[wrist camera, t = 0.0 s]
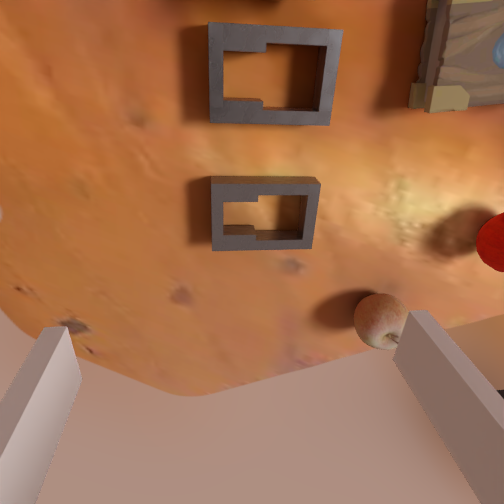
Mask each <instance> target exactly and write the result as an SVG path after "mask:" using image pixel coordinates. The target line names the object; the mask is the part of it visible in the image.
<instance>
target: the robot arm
mask: <svg viewBox="0 0 504 504" xmlns="http://www.w3.org/2000/svg"><path fill="white" fill-rule="evenodd" d="M393 361H394V362H395V364H396V366H397V367H398V369H399V370H400V372H401V374H402V375H403V377H404V379H405V380H406V382H407V384H408V385H409V387H410V388H411V390H412V391H413V393H414V395H415V397H416V398H417V400H418V401H419V403H420V405H421V406H422V408H423V410H424V411H425V413H426V415H427V416H428V418H429V419H430V421H431V423H432V424H433V426H434V428H435V429H436V431H437V432H438V434H439V436H440V437H441V439H442V441H443V442H444V444H445V446H446V447H447V449H448V451H449V452H450V454H451V455H452V457H453V459H454V460H455V462H456V463H457V465H458V467H459V468H460V470H461V472H462V473H463V475H464V476H465V478H466V480H467V482H468V483H469V485H470V486H471V488H472V490H473V491H474V493H475V495H476V496H477V498H478V500H479V501H480V503H481V504H504V390H495V388H494V387H493V386H492V385H491V384H490V383H489V382H488V380H487V379H486V378H485V377H484V376H483V375H482V373H481V372H480V371H479V370H478V369H477V368H476V366H475V365H474V364H473V363H472V362H471V361H470V360H469V358H468V357H467V356H466V355H465V354H464V353H463V351H462V350H461V349H460V348H459V347H458V346H457V344H456V343H455V342H454V341H453V340H452V339H451V338H450V336H449V335H448V334H447V333H446V332H445V331H444V329H443V328H442V327H441V326H440V325H439V324H438V322H437V321H436V320H435V319H434V318H433V317H432V315H431V314H430V313H429V312H428V311H427V310H417V311H409V313H408V316H407V319H406V322H405V325H404V328H403V331H402V334H401V337H400V340H399V343H398V346H397V348H396V351H395V354H394V357H393ZM81 381H82V376H81V373H80V369H79V366H78V362H77V359H76V356H75V352H74V349H73V345H72V342H71V339H70V335H69V332H68V328H67V326H64V327H44V329H43V330H42V332H41V334H40V335H39V337H38V339H37V341H36V342H35V344H34V346H33V348H32V349H31V351H30V353H29V354H28V356H27V358H26V359H25V361H24V363H23V365H22V366H21V368H20V369H19V371H18V373H17V375H16V377H15V378H14V380H13V381H12V383H11V385H10V387H9V388H8V390H7V392H6V394H5V395H4V397H3V398H2V400H1V402H0V504H35V503H36V501H37V498H38V495H39V493H40V490H41V487H42V485H43V482H44V479H45V477H46V474H47V472H48V469H49V466H50V464H51V461H52V458H53V456H54V452H55V450H56V448H57V445H58V442H59V439H60V437H61V434H62V432H63V429H64V426H65V424H66V421H67V418H68V416H69V413H70V410H71V408H72V405H73V403H74V400H75V397H76V395H77V392H78V389H79V386H80V384H81Z"/></svg>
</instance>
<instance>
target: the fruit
mask: <svg viewBox="0 0 504 504" xmlns="http://www.w3.org/2000/svg"><path fill="white" fill-rule="evenodd" d="M408 313H409V312H408V310H407V308H406V307H405V305H404V304H403V303H402V302H401V301H400V300H398V299H397V298H395V297H394V296H391V295H389V294H373V295H370V296H367V297H365V298H363V299H362V300H361V301H360V302H359V303H358V305H357V307H356V309H355V312H354V326H355V329H356V331H357V334H358V336H359V337H360V339H361V340H362V341H363V342H364V343H366V344H367V345H369V346H371V347H373V348H376V349H383V350H389V349H394V348H397V346H398V343H399V340H400V337H401V334H402V331H403V328H404V325H405V322H406V319H407V316H408Z"/></svg>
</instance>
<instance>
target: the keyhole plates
mask: <svg viewBox="0 0 504 504" xmlns="http://www.w3.org/2000/svg"><path fill="white" fill-rule="evenodd" d="M342 35H343V30H336V29H319V28H302V27H285V26H268V25H251V24H234V23H217V22H208V50H209V106H210V123H240V124H282V125H325V126H329V125H330V118H331V111H332V104H333V97H334V90H335V83H336V77H337V70H338V63H339V56H340V49H341V42H342ZM266 43H267V44H286V45H305V46H319V54H318V62H317V71H316V79H315V88H314V96H313V104H312V108H287V107H263V101H262V100H261V99H256V98H225V97H223V51H241V52H261V53H265V52H266ZM320 187H321V184H320V182H319V181H318V180H317V179H316V178H315V177H230V176H211V219H212V251H237V250H284V249H312V242H313V235H314V228H315V221H316V215H317V208H318V201H319V194H320ZM258 195H302V197H301V206H300V214H299V222H298V230H288V231H255V229H254V225H245V226H223V202H258Z"/></svg>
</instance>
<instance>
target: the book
mask: <svg viewBox="0 0 504 504" xmlns="http://www.w3.org/2000/svg"><path fill="white" fill-rule="evenodd" d="M426 8H427V12H426V18H425V19H426V20H427V22H428V23H427V26H426V28H425V41H424V43H423V45H422V47H421V51H420V56H421V64H420V65H419V66H418V76H419V79H418V80H417V81H416V83H411V90H410V97H409V103H408V108H411V109H416V108H425V109H424V112H428V113H436V112H445V111H460V110H467V107H473V106H482V105H492V104H503V103H504V0H428V2H427V6H426Z"/></svg>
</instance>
